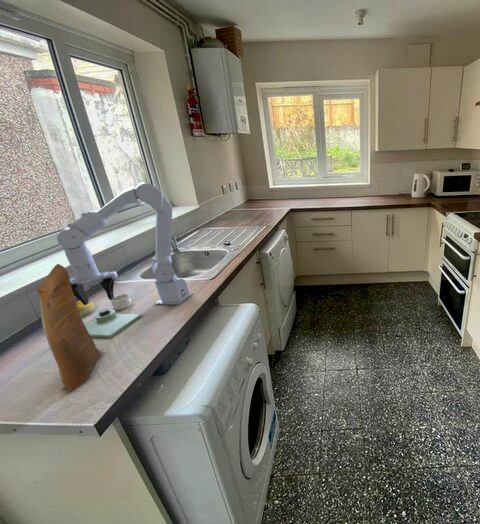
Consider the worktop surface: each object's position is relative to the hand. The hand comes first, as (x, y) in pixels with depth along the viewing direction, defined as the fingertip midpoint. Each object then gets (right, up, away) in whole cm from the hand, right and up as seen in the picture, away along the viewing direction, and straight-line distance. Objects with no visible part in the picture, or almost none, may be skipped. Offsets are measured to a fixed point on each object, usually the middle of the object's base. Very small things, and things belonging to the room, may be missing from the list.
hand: (99, 301), depth 97 cm
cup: (0, -4, +11) cm, 11 cm away
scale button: (0, -5, +2) cm, 5 cm away
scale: (+4, -8, -1) cm, 9 cm away
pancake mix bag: (+14, -16, -20) cm, 29 cm away
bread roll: (-14, -6, +8) cm, 17 cm away
